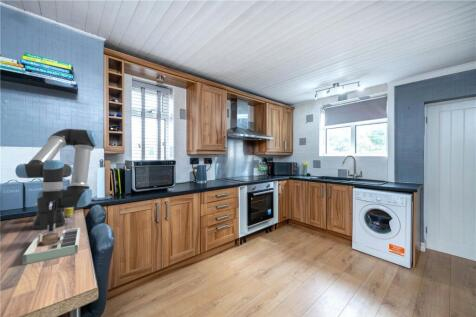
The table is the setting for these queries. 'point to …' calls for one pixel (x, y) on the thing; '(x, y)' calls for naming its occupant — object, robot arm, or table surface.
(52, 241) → the brown rounded cylinder
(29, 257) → the box
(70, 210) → the supplement bottle
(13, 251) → the table surface
